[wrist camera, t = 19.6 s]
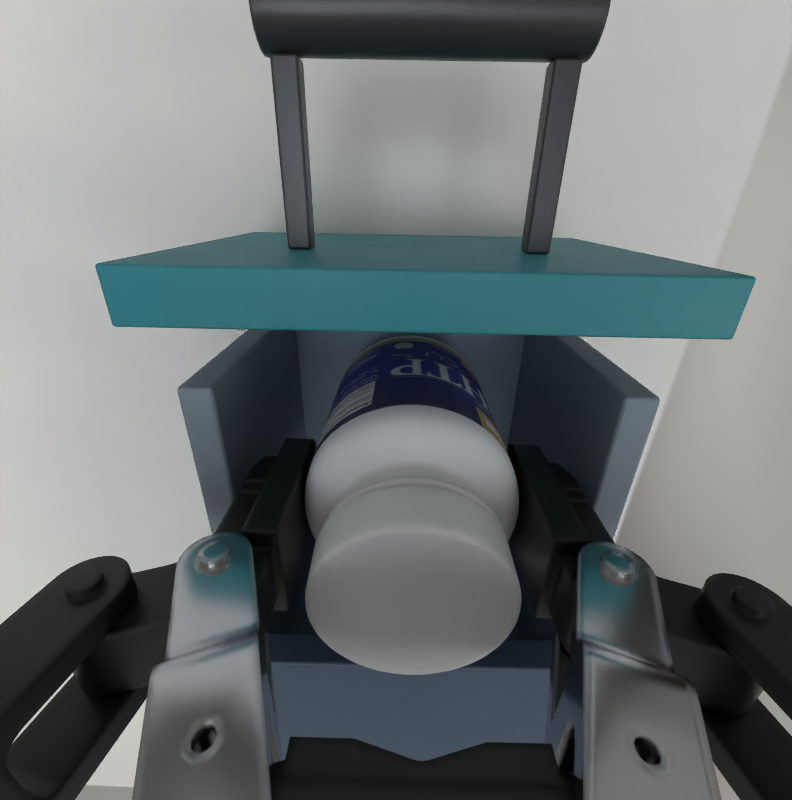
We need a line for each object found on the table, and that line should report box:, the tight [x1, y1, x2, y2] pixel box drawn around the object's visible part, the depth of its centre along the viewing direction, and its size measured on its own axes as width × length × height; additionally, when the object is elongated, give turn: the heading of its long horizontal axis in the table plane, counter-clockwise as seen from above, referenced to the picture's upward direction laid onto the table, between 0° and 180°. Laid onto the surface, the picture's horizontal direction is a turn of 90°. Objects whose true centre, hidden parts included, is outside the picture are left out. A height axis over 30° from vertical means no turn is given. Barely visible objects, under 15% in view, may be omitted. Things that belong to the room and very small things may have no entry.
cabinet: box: [268, 633, 553, 761], centre depth 19 cm, size 16×13×11 cm
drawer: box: [96, 0, 756, 640], centre depth 13 cm, size 20×12×9 cm, turn 179°
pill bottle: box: [305, 335, 522, 675], centre depth 11 cm, size 5×5×9 cm
